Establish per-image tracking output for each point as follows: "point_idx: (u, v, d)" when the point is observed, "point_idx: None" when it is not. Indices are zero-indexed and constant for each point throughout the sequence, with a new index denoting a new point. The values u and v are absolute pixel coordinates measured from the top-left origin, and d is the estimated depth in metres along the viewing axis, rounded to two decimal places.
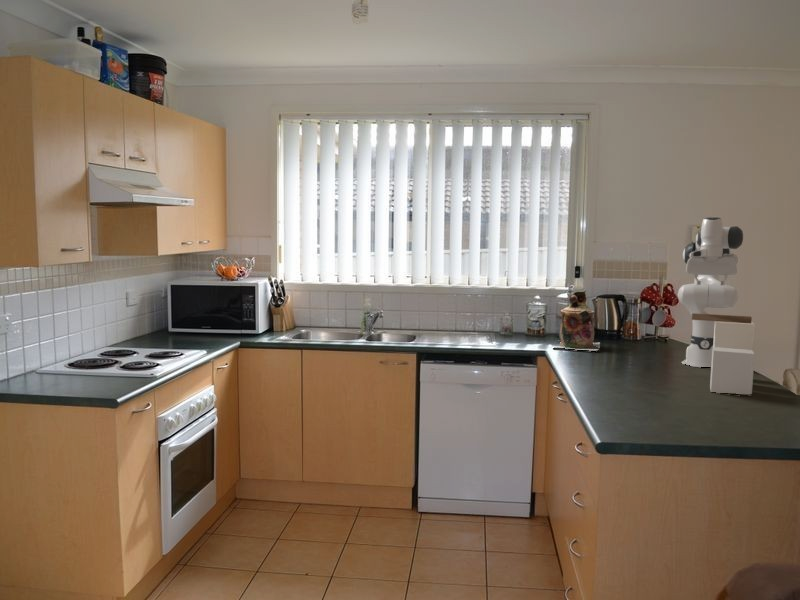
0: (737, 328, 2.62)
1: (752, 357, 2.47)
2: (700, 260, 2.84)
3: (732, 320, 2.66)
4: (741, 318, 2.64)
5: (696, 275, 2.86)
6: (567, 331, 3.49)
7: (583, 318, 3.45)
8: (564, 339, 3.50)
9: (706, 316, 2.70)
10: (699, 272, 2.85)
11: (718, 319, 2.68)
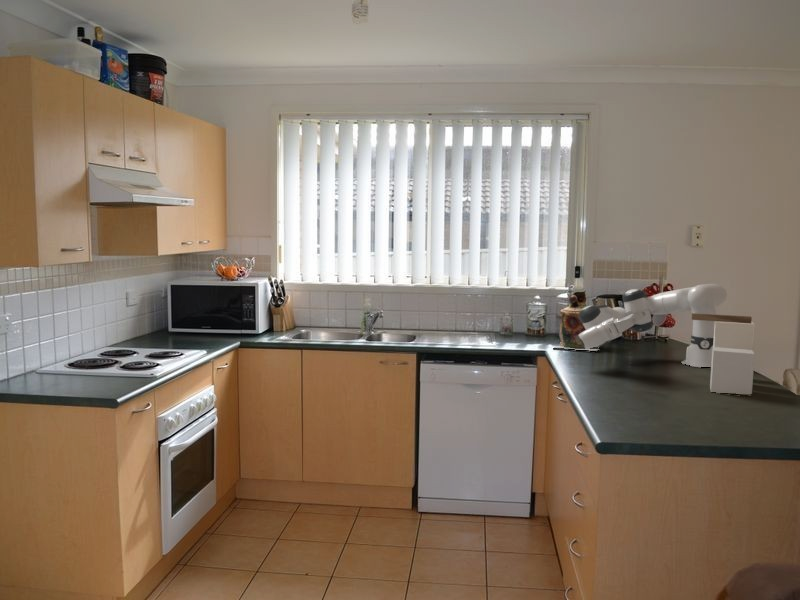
0: (737, 328, 2.62)
1: (752, 357, 2.47)
2: (617, 321, 2.81)
3: (732, 320, 2.66)
4: (741, 318, 2.64)
5: (633, 317, 2.77)
6: (566, 331, 3.48)
7: None
8: (564, 339, 3.49)
9: (706, 316, 2.70)
10: (629, 316, 2.79)
11: (718, 319, 2.68)
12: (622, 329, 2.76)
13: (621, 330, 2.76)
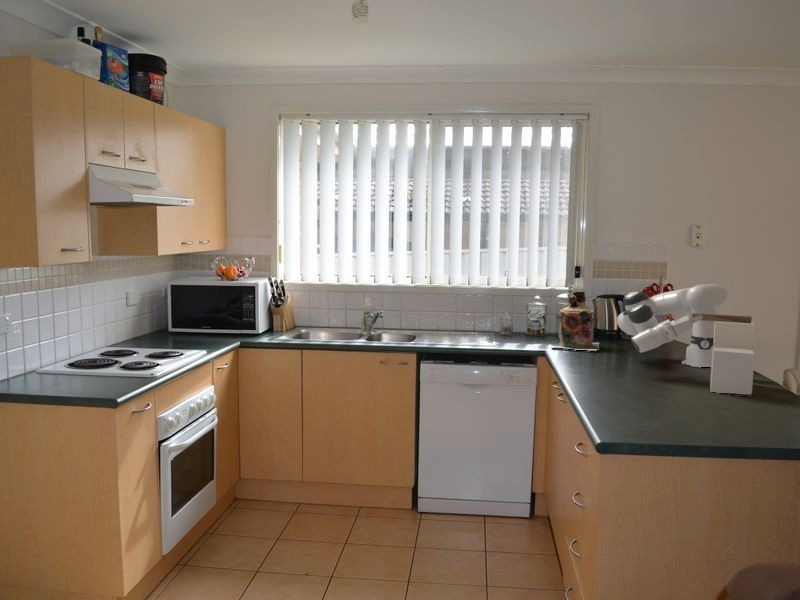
0: (737, 328, 2.62)
1: (752, 357, 2.47)
2: (674, 323, 2.72)
3: (732, 320, 2.66)
4: (741, 318, 2.64)
5: (691, 318, 2.70)
6: (566, 331, 3.48)
7: (582, 318, 3.45)
8: (563, 339, 3.49)
9: (706, 316, 2.70)
10: (687, 318, 2.70)
11: (718, 319, 2.68)
12: (681, 331, 2.66)
13: (679, 332, 2.67)
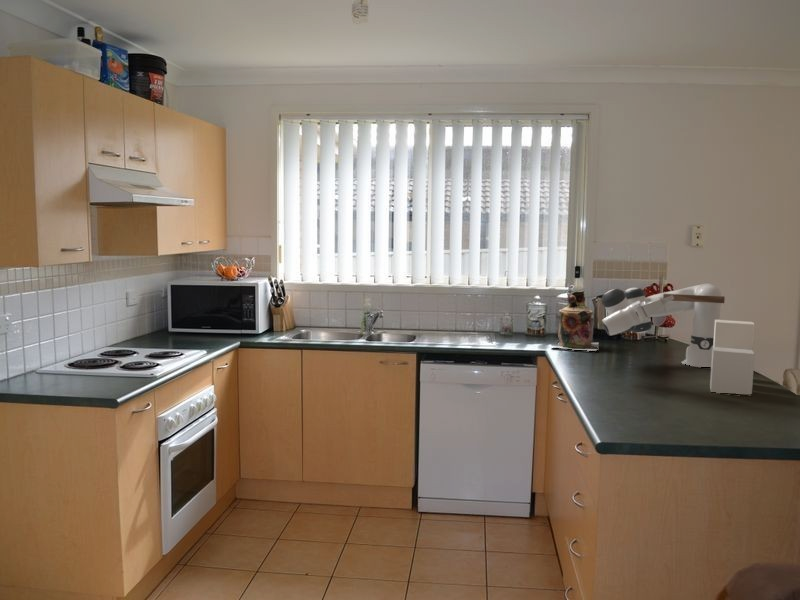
0: (737, 328, 2.62)
1: (752, 357, 2.47)
2: None
3: (704, 300, 2.54)
4: (714, 298, 2.53)
5: (662, 299, 2.59)
6: (565, 331, 3.48)
7: (581, 318, 3.44)
8: (563, 339, 3.49)
9: (678, 296, 2.58)
10: (658, 299, 2.58)
11: (690, 300, 2.56)
12: (651, 312, 2.55)
13: (650, 313, 2.55)
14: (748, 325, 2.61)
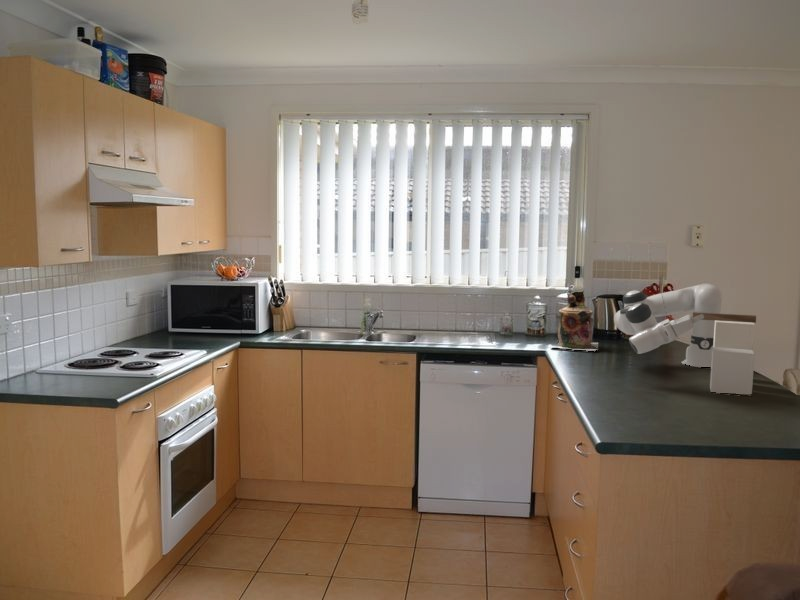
0: (737, 328, 2.62)
1: (752, 357, 2.47)
2: (674, 323, 2.56)
3: (735, 319, 2.50)
4: (745, 317, 2.49)
5: (692, 318, 2.55)
6: (565, 331, 3.48)
7: (581, 318, 3.44)
8: (562, 339, 3.49)
9: (708, 315, 2.54)
10: (687, 318, 2.54)
11: (721, 319, 2.52)
12: (681, 332, 2.51)
13: (680, 333, 2.51)
14: (748, 325, 2.61)
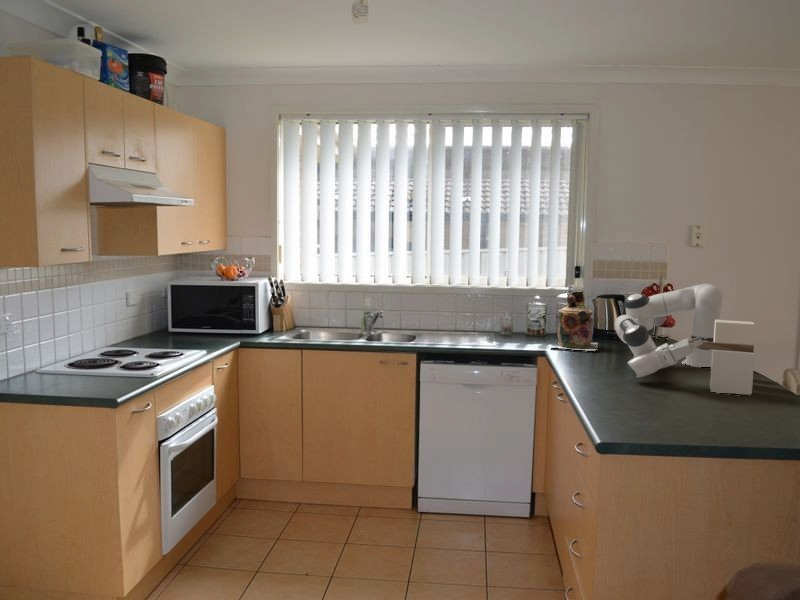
0: (737, 328, 2.62)
1: (752, 357, 2.47)
2: (673, 347, 2.58)
3: (733, 349, 2.52)
4: (743, 347, 2.51)
5: (690, 343, 2.54)
6: (565, 331, 3.48)
7: (581, 318, 3.44)
8: (562, 339, 3.49)
9: (706, 344, 2.56)
10: (686, 343, 2.56)
11: (719, 348, 2.54)
12: (679, 357, 2.52)
13: (678, 358, 2.53)
14: (748, 325, 2.61)
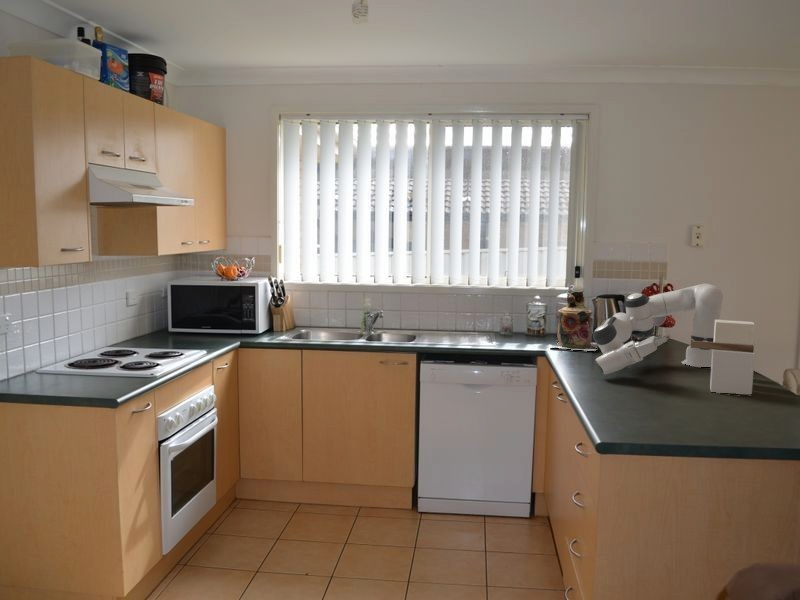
0: (737, 328, 2.62)
1: (752, 357, 2.47)
2: (638, 345, 2.63)
3: (733, 349, 2.52)
4: (743, 347, 2.51)
5: (655, 341, 2.59)
6: (564, 331, 3.48)
7: (580, 318, 3.44)
8: (562, 339, 3.49)
9: (706, 344, 2.56)
10: (651, 340, 2.61)
11: (719, 348, 2.54)
12: (644, 354, 2.57)
13: (643, 355, 2.58)
14: (748, 325, 2.61)
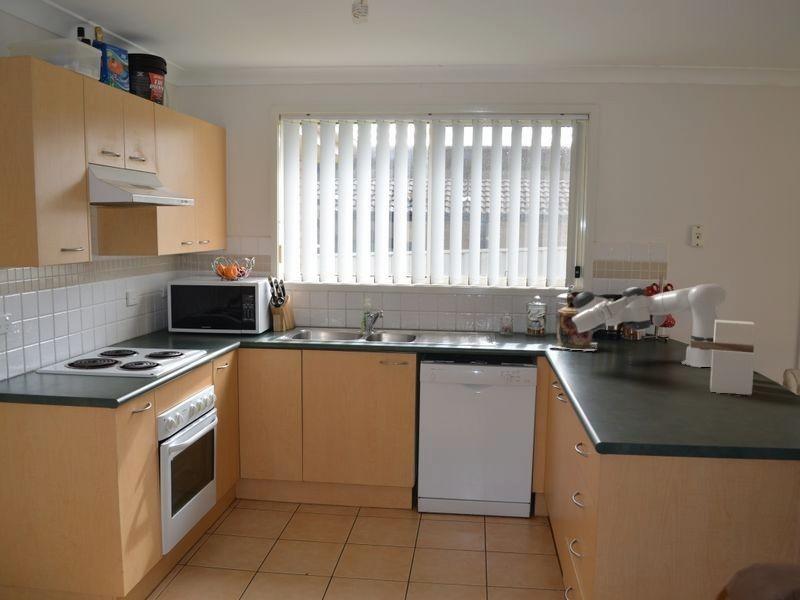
0: (737, 328, 2.62)
1: (752, 357, 2.47)
2: (610, 303, 2.81)
3: (733, 349, 2.52)
4: (743, 347, 2.51)
5: (625, 299, 2.77)
6: (564, 331, 3.48)
7: None
8: (561, 339, 3.49)
9: (706, 344, 2.56)
10: (622, 299, 2.79)
11: (719, 348, 2.54)
12: (615, 311, 2.76)
13: (614, 312, 2.76)
14: (748, 325, 2.61)
